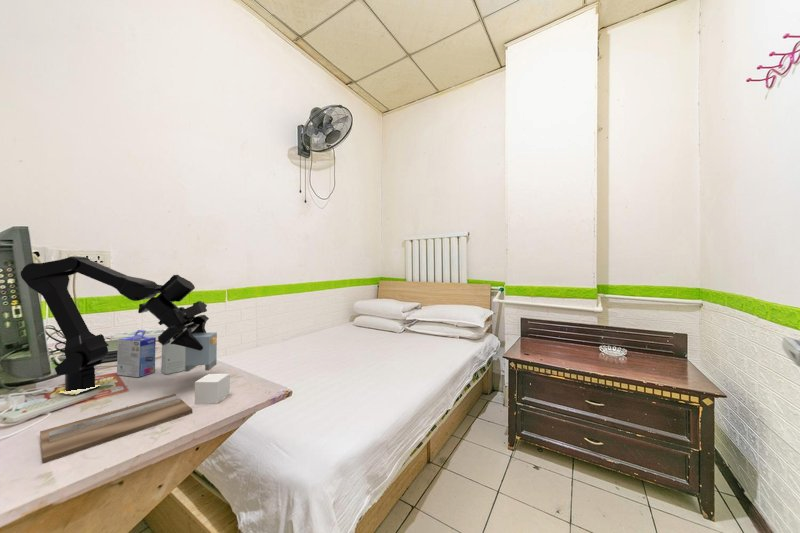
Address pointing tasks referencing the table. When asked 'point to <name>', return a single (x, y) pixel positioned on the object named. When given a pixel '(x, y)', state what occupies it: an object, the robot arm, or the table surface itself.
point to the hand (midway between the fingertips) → (206, 346)
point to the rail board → (109, 426)
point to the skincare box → (172, 358)
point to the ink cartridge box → (136, 355)
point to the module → (202, 352)
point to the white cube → (212, 388)
